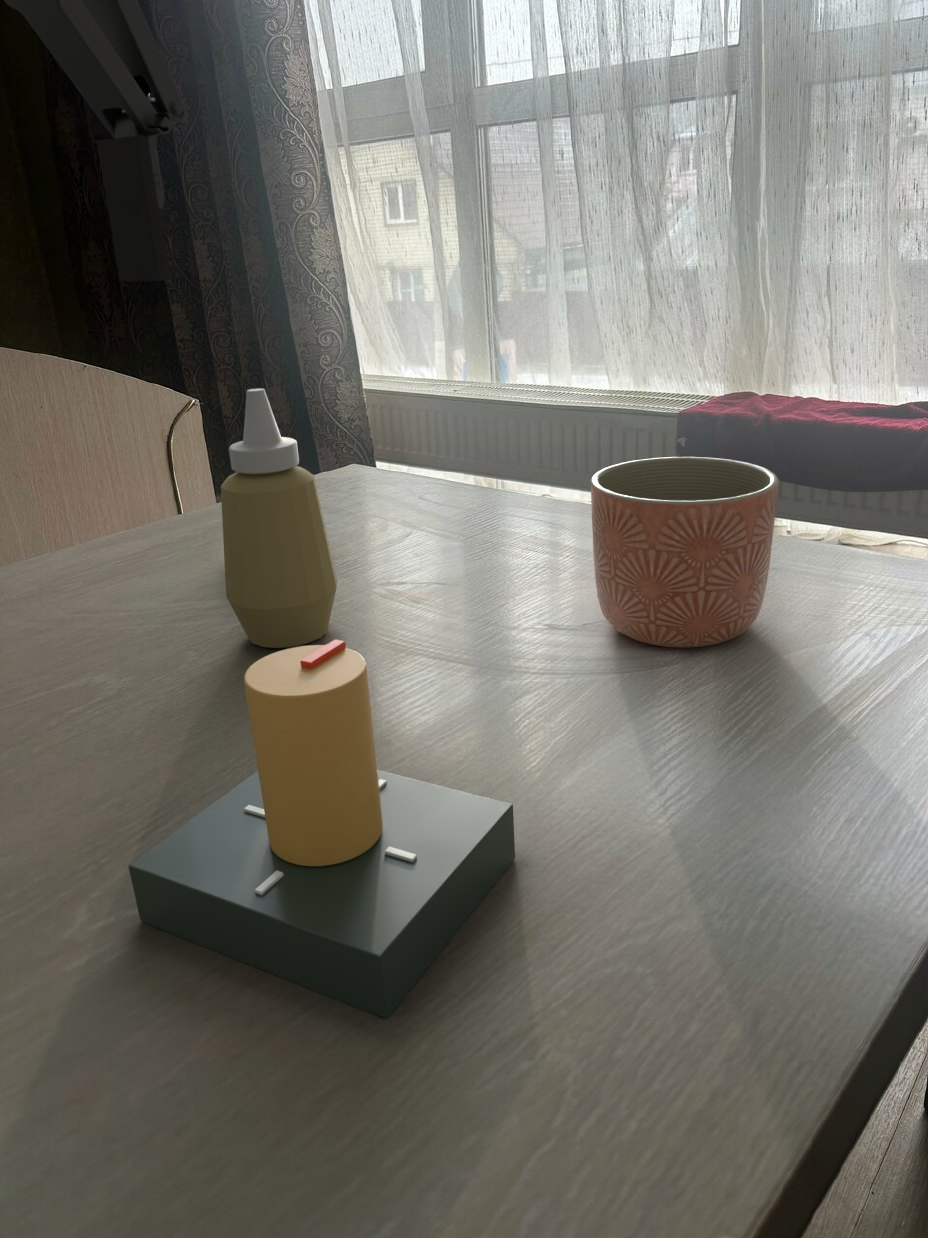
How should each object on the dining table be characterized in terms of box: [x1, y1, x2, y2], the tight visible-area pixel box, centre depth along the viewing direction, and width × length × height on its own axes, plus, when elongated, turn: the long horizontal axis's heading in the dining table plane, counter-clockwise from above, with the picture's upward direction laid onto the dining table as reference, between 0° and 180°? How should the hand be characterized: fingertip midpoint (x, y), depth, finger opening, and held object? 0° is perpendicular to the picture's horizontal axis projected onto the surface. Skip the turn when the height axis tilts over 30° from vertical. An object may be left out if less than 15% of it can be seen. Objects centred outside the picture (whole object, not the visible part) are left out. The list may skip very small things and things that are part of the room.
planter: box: [590, 456, 779, 649], centre depth 67 cm, size 12×12×11 cm
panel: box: [127, 769, 516, 1019], centre depth 43 cm, size 13×11×3 cm
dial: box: [243, 638, 383, 866], centre depth 41 cm, size 5×5×8 cm
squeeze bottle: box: [220, 388, 338, 649], centre depth 69 cm, size 8×8×18 cm
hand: (33, 293), depth 44 cm, fingers open, 13 cm apart
